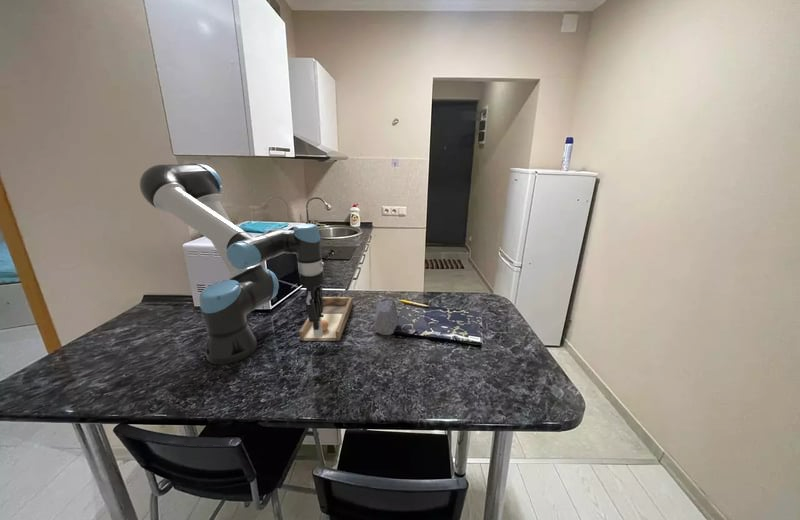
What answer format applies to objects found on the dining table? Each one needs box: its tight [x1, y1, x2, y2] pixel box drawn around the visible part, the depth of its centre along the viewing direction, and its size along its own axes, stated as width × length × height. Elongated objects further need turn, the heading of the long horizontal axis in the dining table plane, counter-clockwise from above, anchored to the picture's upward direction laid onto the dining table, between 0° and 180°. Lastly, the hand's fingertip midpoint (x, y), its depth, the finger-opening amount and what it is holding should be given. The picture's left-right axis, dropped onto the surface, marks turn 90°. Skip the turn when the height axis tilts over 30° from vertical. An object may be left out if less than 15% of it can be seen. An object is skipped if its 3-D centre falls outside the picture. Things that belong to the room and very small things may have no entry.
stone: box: [373, 298, 399, 336], centre depth 113 cm, size 12×10×10 cm
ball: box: [321, 320, 328, 331], centre depth 112 cm, size 4×4×4 cm
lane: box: [298, 296, 354, 342], centre depth 121 cm, size 14×28×4 cm, turn 179°
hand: (318, 335), depth 106 cm, fingers closed
